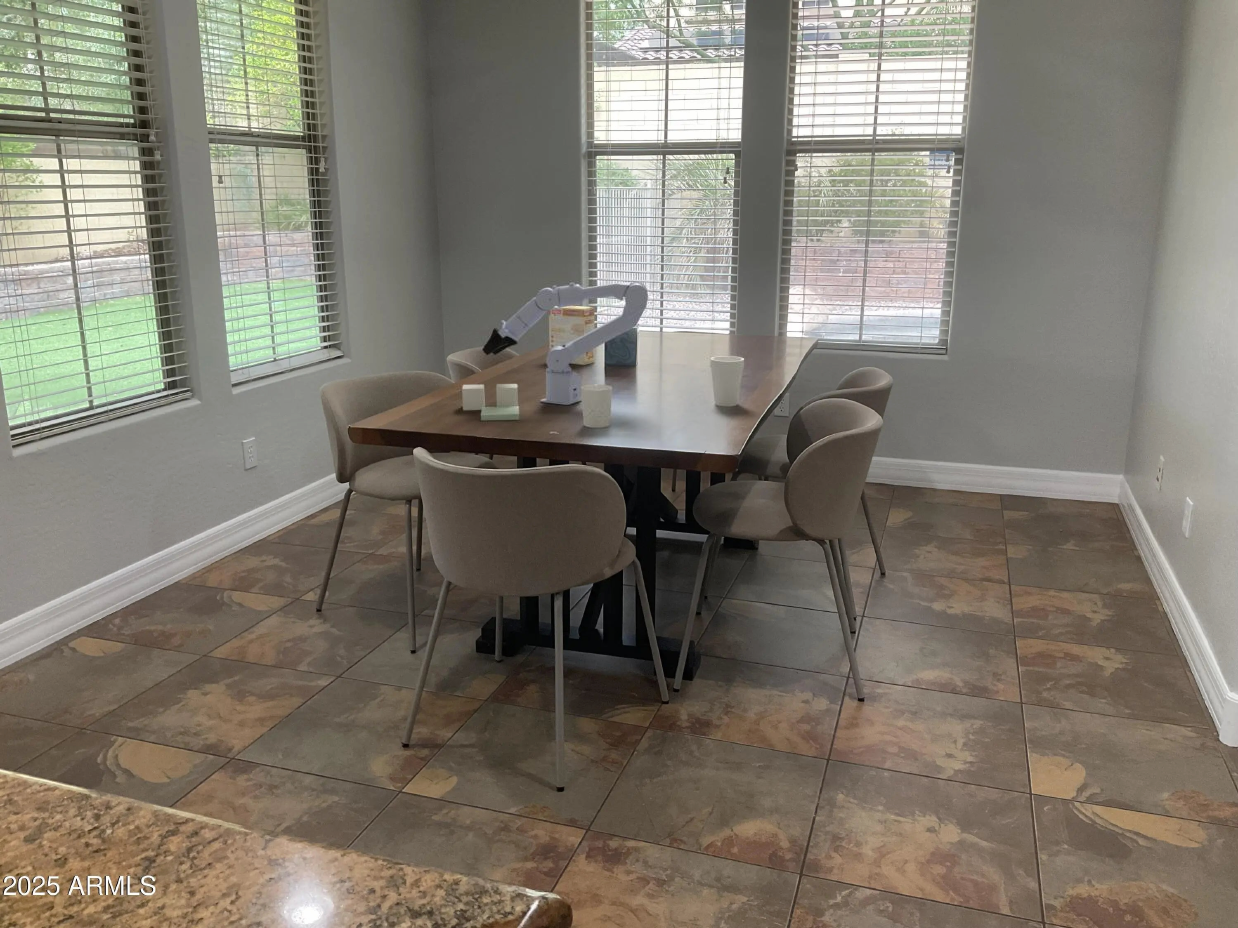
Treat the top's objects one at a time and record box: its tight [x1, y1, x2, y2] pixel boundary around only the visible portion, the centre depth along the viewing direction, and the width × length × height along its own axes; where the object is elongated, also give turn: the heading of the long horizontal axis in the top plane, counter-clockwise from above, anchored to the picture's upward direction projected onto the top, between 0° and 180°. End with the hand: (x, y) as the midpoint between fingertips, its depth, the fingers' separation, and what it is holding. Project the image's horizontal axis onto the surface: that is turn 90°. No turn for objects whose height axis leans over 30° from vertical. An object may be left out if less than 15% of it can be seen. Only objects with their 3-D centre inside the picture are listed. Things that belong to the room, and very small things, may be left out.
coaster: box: [480, 405, 520, 421], centre depth 269 cm, size 10×10×2 cm
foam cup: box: [709, 355, 745, 407], centre depth 283 cm, size 10×9×13 cm
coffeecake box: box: [548, 305, 596, 366], centre depth 350 cm, size 15×7×20 cm, turn 58°
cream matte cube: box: [495, 383, 519, 407], centre depth 279 cm, size 6×6×6 cm
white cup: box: [580, 383, 613, 429], centre depth 258 cm, size 8×8×10 cm
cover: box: [461, 384, 486, 411], centre depth 279 cm, size 6×6×6 cm
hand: (488, 352), depth 285 cm, fingers open, 7 cm apart
